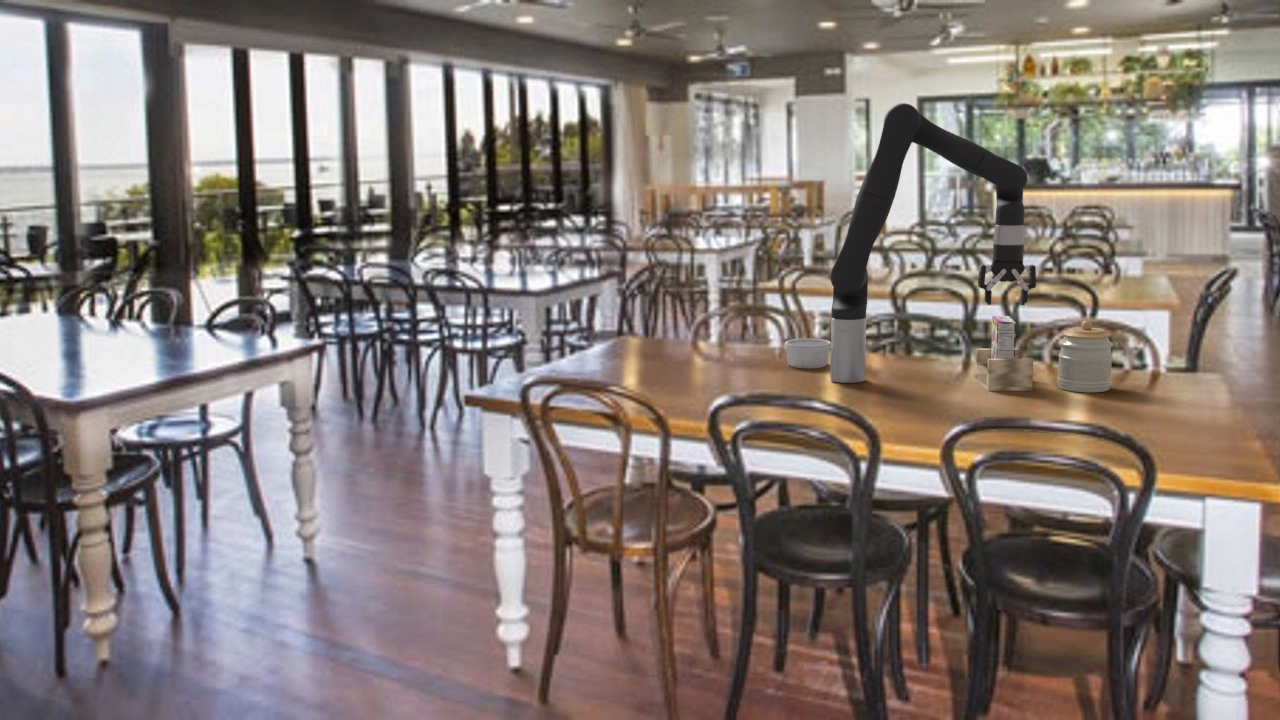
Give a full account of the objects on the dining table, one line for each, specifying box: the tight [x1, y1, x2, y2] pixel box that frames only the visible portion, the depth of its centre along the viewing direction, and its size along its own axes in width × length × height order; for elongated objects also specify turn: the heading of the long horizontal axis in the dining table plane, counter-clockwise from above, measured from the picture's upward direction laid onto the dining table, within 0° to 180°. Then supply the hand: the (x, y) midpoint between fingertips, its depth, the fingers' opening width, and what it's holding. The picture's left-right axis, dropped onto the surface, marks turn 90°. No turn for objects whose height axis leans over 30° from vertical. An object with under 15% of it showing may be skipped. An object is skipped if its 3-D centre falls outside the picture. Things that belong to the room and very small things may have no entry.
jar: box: [1056, 320, 1114, 393], centre depth 293 cm, size 13×13×18 cm
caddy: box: [974, 347, 1034, 392], centre depth 302 cm, size 11×18×8 cm, turn 174°
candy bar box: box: [991, 315, 1017, 359], centre depth 301 cm, size 11×5×16 cm, turn 170°
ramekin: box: [784, 338, 831, 369], centre depth 335 cm, size 13×13×7 cm
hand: (1005, 304), depth 299 cm, fingers open, 8 cm apart
